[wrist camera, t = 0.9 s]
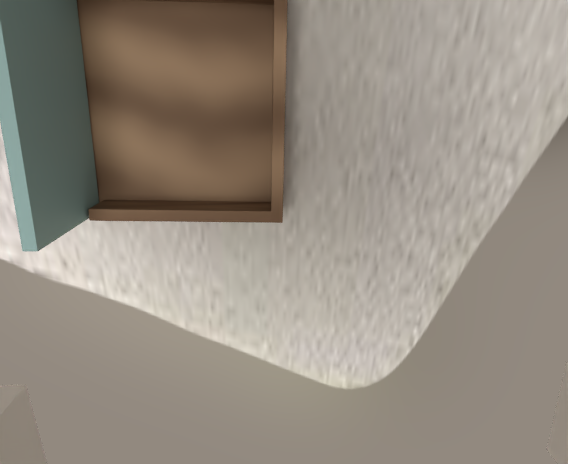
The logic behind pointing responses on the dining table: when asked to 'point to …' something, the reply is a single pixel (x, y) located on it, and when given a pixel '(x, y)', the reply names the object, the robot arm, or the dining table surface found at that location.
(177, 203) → the crate
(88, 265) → the dining table surface
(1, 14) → the panel
